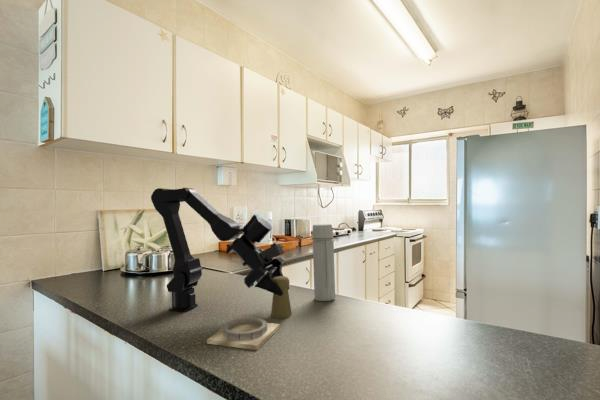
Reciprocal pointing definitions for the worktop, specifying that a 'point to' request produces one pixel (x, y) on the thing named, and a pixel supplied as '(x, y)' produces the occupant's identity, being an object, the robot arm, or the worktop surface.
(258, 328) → the seat
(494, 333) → the worktop surface
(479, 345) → the worktop surface
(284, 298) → the cork
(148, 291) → the worktop surface
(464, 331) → the worktop surface
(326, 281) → the water bottle
